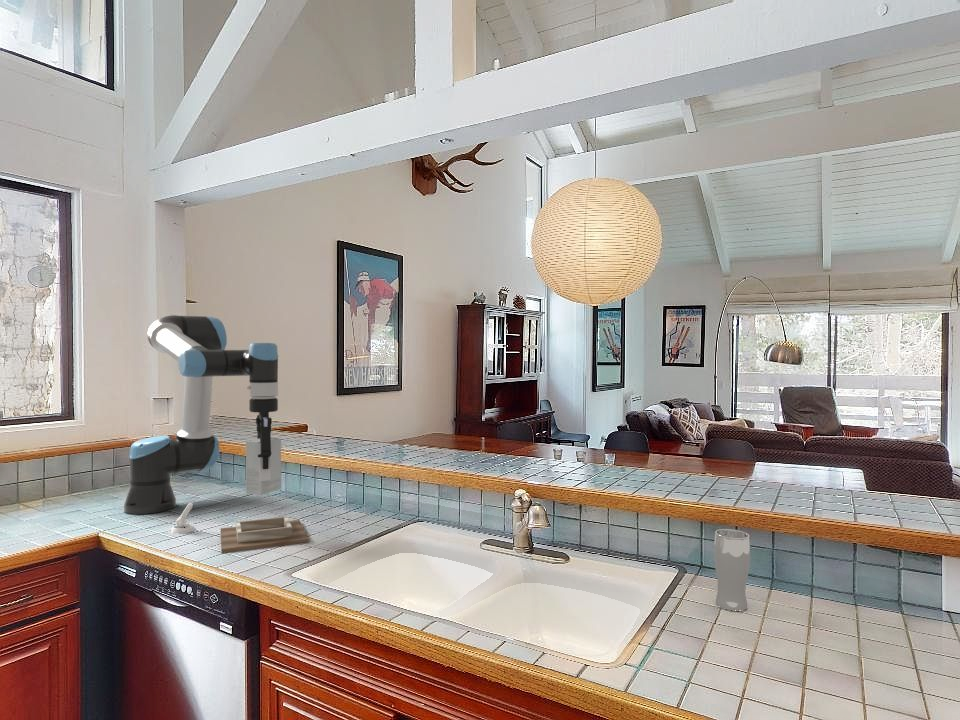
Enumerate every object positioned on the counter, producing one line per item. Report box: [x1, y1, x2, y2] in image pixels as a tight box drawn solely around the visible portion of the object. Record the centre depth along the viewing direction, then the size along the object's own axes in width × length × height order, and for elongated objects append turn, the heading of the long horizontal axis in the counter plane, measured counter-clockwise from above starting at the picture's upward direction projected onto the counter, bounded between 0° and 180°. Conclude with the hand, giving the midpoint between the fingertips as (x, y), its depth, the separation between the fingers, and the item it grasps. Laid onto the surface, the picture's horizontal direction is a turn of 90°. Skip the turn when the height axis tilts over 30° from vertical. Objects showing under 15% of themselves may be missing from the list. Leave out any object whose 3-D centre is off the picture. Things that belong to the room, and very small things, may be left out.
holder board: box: [220, 515, 310, 554], centre depth 167 cm, size 20×22×4 cm
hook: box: [170, 502, 196, 534], centre depth 173 cm, size 6×10×6 cm
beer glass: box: [713, 528, 751, 612], centre depth 123 cm, size 7×7×15 cm
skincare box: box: [245, 437, 282, 496], centre depth 167 cm, size 8×6×15 cm
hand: (263, 476), depth 167 cm, fingers closed on skincare box, 10 cm apart
